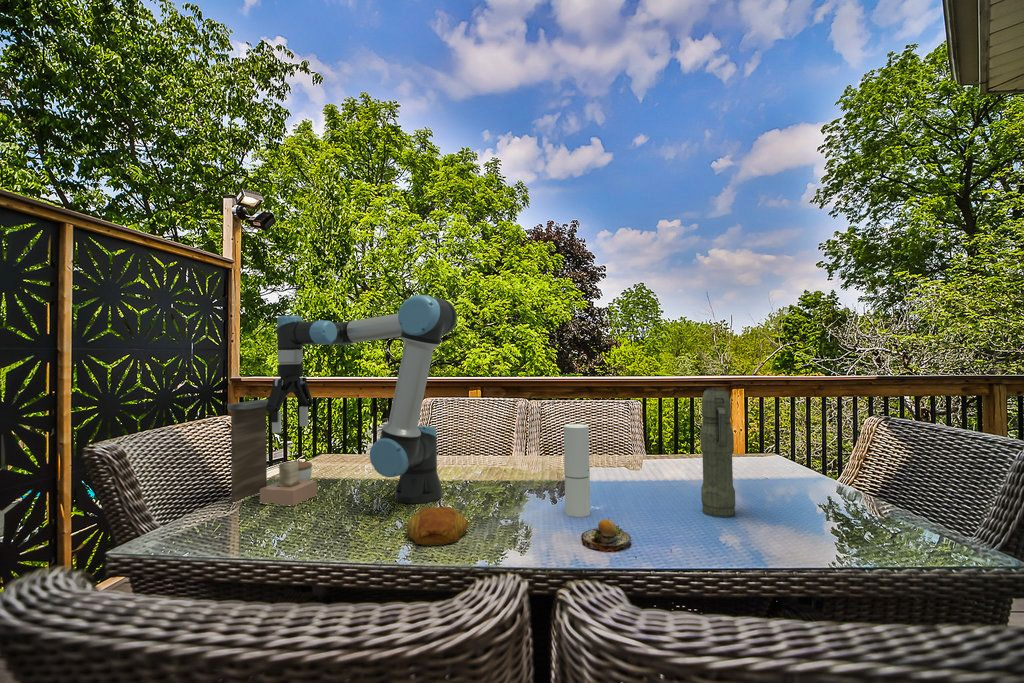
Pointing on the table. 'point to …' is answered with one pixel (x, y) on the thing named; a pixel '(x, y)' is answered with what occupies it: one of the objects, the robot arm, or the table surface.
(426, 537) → the croissant
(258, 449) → the capped wooden panel
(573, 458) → the cylindrical container
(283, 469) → the peg
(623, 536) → the wood slice egg decoration
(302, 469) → the lidded jar
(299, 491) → the socket block
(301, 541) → the table surface
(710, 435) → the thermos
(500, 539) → the table surface
